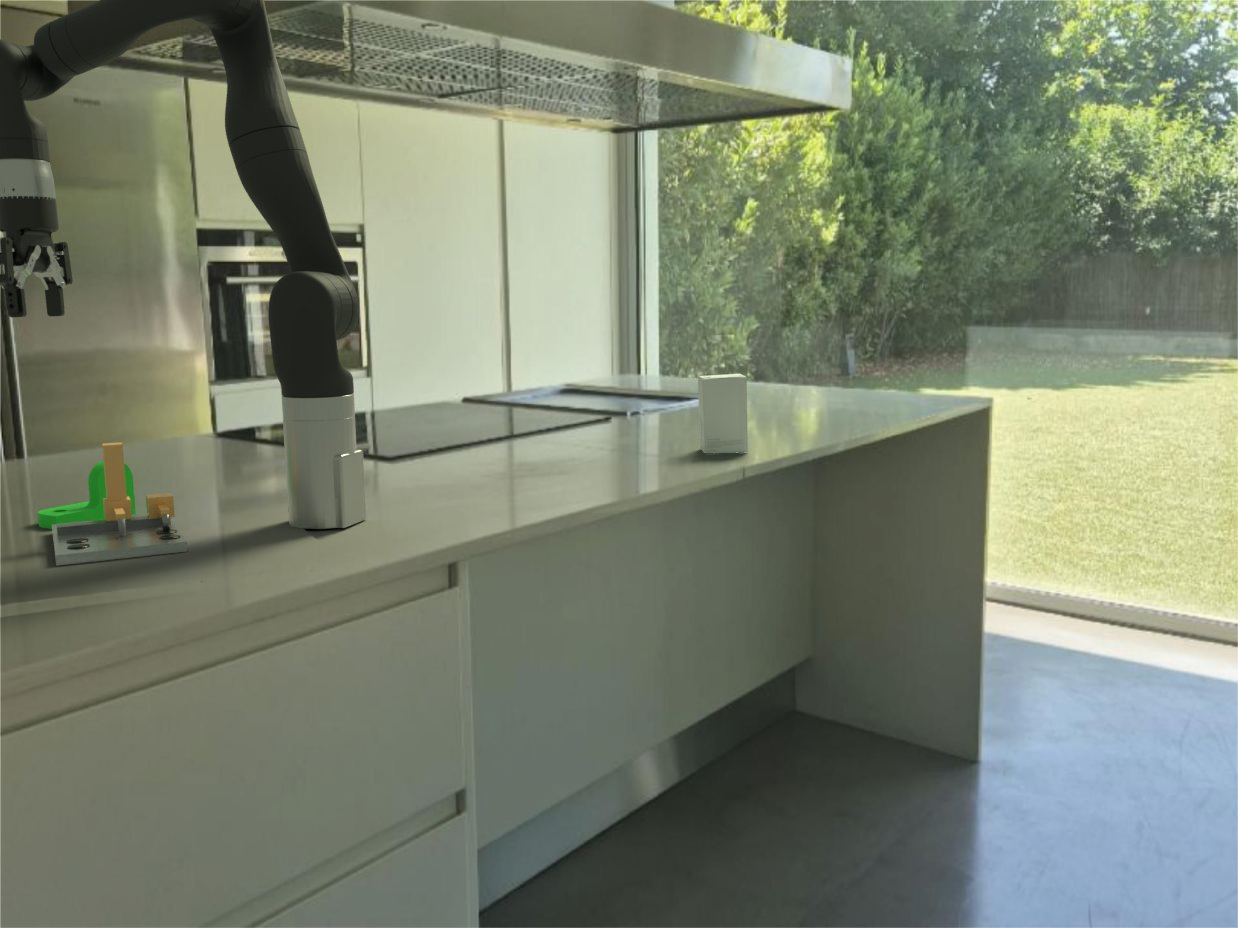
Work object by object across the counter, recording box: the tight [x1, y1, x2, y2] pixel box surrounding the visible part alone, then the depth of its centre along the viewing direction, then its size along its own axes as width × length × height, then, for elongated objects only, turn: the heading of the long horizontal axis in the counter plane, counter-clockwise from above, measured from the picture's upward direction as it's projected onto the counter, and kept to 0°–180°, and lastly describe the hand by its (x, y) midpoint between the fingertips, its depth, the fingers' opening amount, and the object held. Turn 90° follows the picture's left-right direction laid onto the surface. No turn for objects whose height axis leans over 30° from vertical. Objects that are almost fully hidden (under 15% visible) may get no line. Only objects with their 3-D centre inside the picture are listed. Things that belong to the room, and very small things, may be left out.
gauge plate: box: [51, 492, 188, 567], centre depth 139 cm, size 14×20×5 cm
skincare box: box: [697, 373, 749, 455], centre depth 205 cm, size 8×6×15 cm
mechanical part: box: [37, 460, 137, 530], centre depth 154 cm, size 12×6×8 cm, turn 151°
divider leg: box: [101, 441, 133, 536], centre depth 139 cm, size 3×8×10 cm, turn 28°
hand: (37, 316), depth 155 cm, fingers open, 8 cm apart
